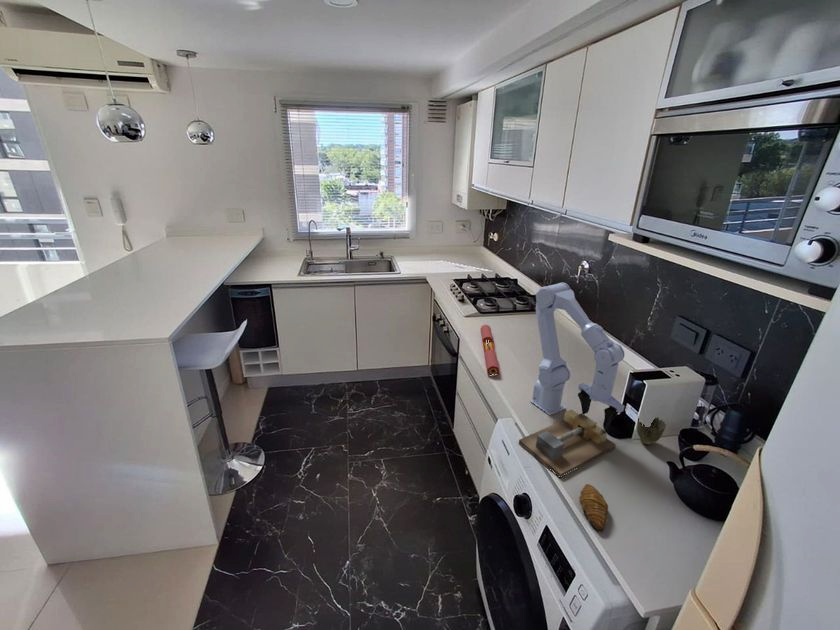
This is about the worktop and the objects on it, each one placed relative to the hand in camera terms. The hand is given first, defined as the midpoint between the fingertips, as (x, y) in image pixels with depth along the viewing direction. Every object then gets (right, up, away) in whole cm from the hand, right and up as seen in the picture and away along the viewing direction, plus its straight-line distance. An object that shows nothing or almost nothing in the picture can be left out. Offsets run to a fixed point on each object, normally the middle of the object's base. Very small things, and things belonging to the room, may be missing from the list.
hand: (595, 419), depth 122 cm
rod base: (-10, -7, -4) cm, 13 cm away
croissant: (-12, -16, -25) cm, 32 cm away
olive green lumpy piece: (+15, -7, -2) cm, 17 cm away
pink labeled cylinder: (-24, +15, +53) cm, 61 cm away
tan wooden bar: (-4, -4, -1) cm, 6 cm away
